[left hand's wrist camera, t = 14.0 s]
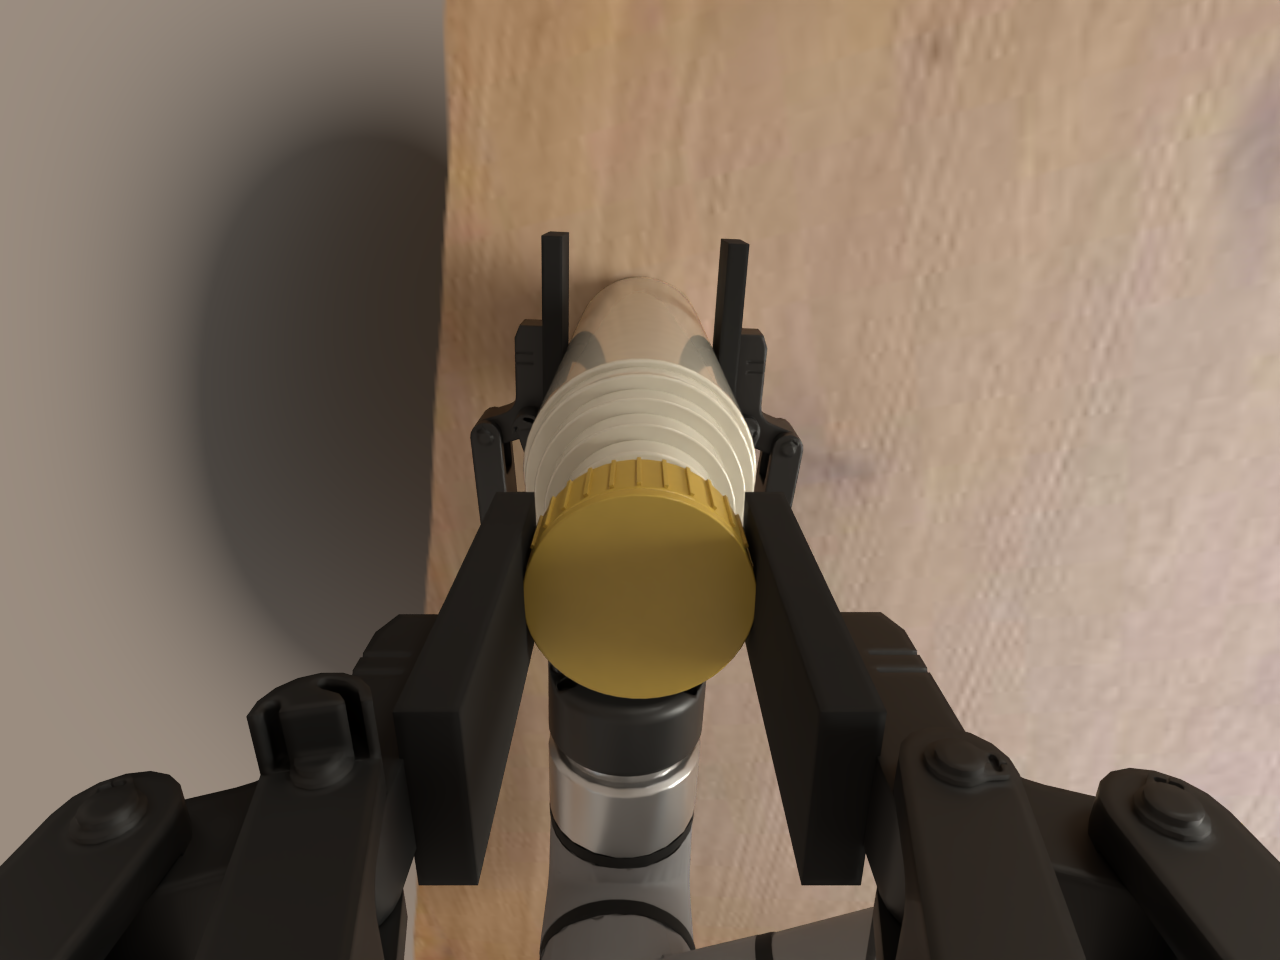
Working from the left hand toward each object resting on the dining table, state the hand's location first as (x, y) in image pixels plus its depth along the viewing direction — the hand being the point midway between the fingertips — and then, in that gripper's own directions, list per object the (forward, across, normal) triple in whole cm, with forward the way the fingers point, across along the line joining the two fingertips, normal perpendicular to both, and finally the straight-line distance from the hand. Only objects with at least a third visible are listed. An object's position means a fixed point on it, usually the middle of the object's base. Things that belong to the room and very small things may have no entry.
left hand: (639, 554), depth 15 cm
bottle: (+22, 0, 0) cm, 22 cm away
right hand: (+16, 0, -5) cm, 17 cm away
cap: (-2, 0, 0) cm, 2 cm away
